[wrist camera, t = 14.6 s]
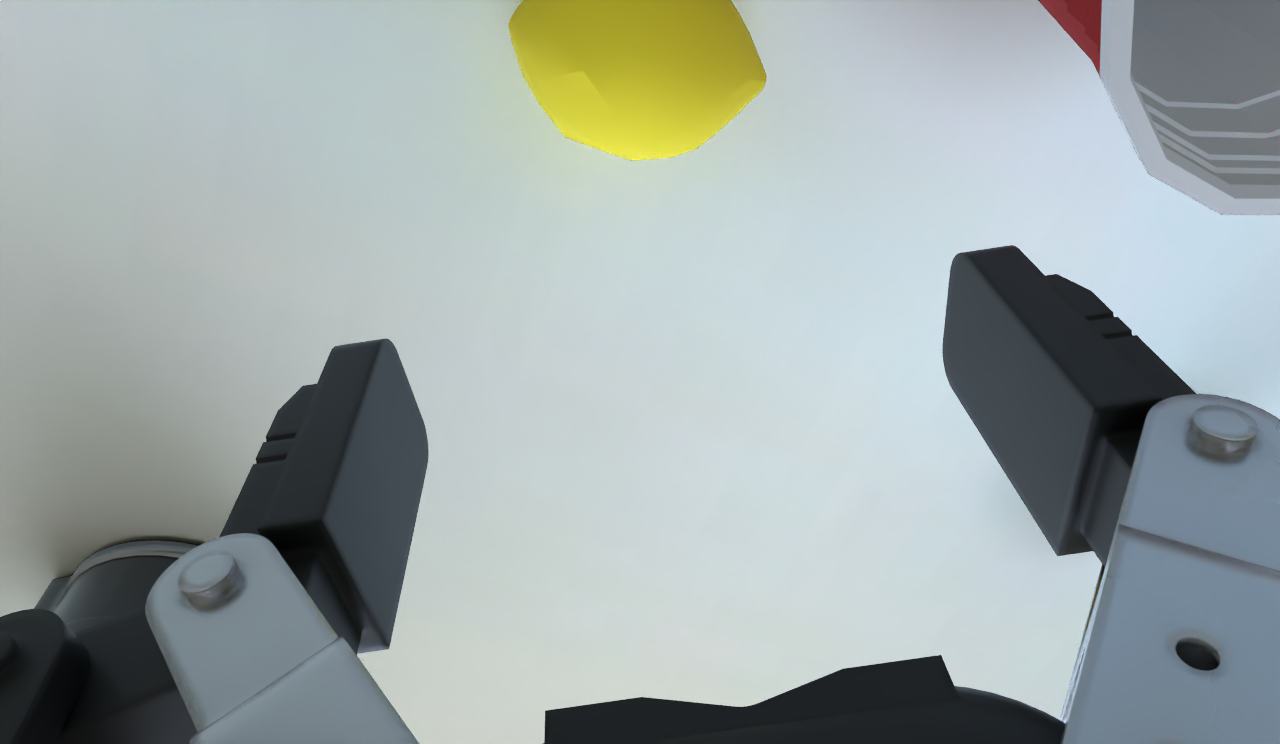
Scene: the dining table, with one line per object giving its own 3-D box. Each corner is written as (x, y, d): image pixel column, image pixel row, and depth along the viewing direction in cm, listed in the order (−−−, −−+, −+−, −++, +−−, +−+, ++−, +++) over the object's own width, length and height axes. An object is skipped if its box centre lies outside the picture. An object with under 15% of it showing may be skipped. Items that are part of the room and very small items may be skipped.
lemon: (501, 92, 25) (484, 161, 21) (531, -107, 22) (520, -75, 18) (719, 142, 26) (747, 216, 22) (777, -38, 23) (823, 7, 19)
